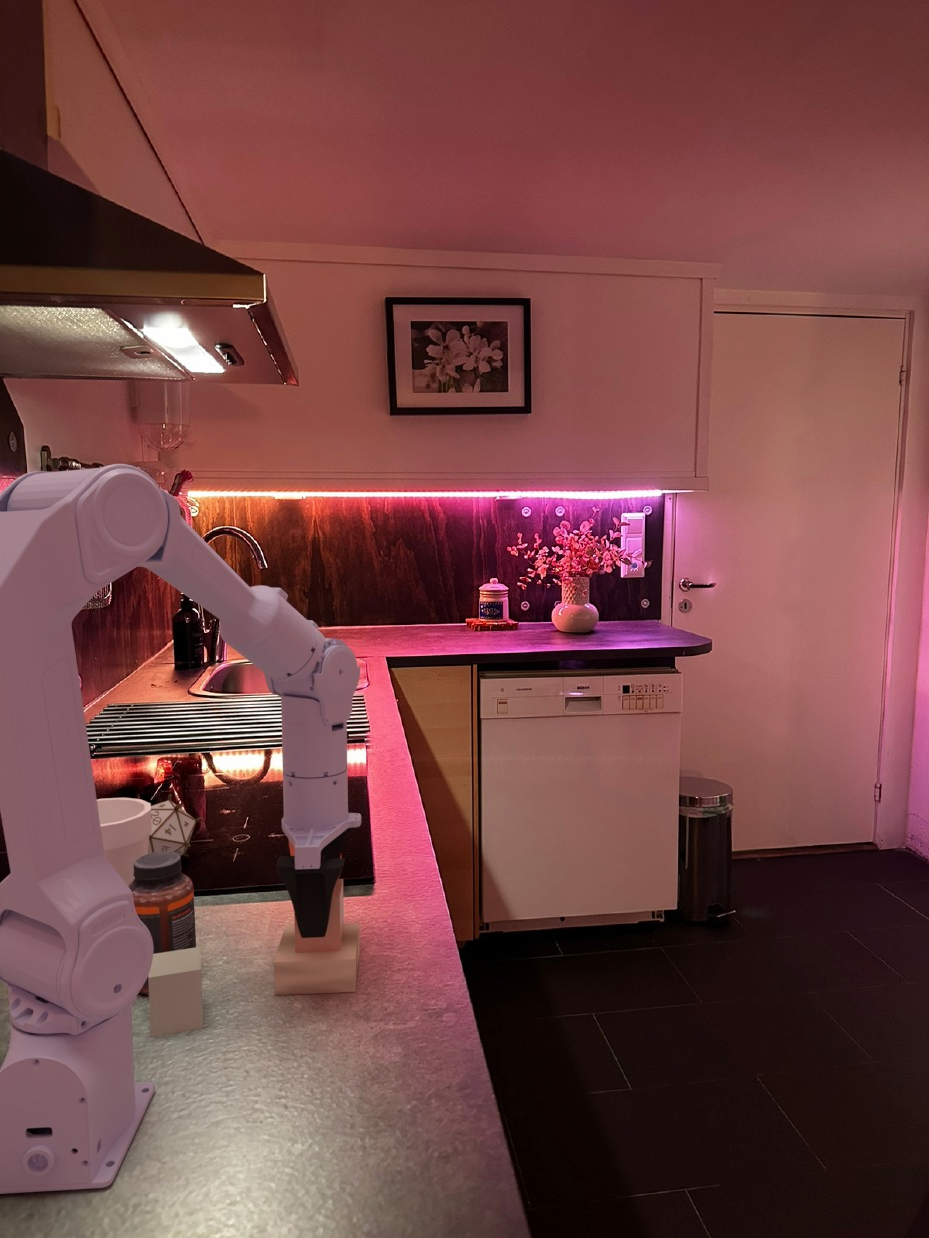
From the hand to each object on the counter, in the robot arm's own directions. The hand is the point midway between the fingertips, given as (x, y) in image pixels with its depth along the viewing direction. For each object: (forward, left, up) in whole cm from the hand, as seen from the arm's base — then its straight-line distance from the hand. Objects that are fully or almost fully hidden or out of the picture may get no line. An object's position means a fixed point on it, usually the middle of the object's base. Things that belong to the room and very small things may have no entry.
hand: (318, 916), depth 75 cm
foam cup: (+9, +22, -6) cm, 24 cm away
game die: (+29, +22, -6) cm, 36 cm away
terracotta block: (0, 0, -2) cm, 2 cm away
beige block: (-6, +11, -6) cm, 14 cm away
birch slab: (0, 0, -5) cm, 5 cm away
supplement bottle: (0, +14, -6) cm, 15 cm away
